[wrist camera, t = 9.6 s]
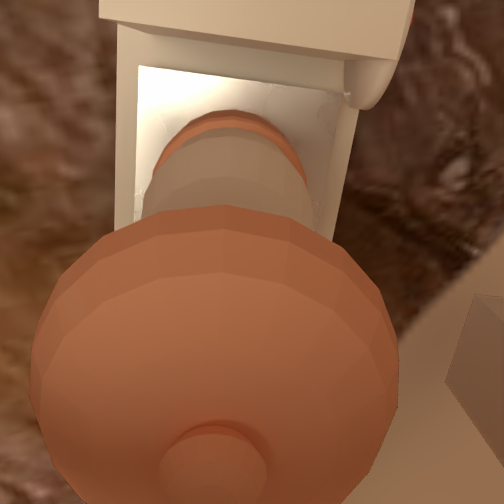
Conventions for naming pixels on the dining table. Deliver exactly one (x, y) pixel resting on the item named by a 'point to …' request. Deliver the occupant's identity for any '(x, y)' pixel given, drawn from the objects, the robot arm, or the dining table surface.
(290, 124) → the scale pan
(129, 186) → the scale base
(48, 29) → the dining table surface
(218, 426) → the salt shaker
